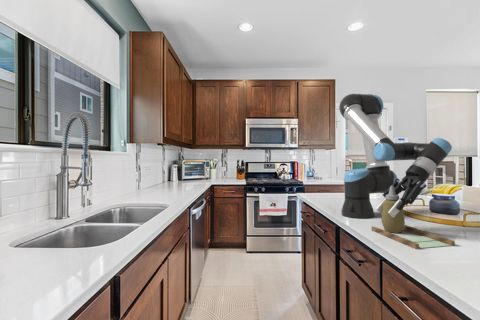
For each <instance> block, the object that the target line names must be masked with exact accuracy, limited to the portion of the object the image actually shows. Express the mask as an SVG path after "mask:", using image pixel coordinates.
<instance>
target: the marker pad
mask: <svg viewBox="0 0 480 320" xmlns="http://www.w3.org/2000/svg"><path fill="white" fill-rule="evenodd" d="M404 238H405V239H407V240H410V241H412V242H415V243H417V244H419V249H420V248H421V249H429V248H430V249H431V247H433V248H443V247H442V246H444V247H451V245H448V244H445V243H442V242H440V241H437V240H434V239H431V238H428V237H425V236H422V235H420V236H412V237H410V236H409V237H404Z"/></svg>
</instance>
